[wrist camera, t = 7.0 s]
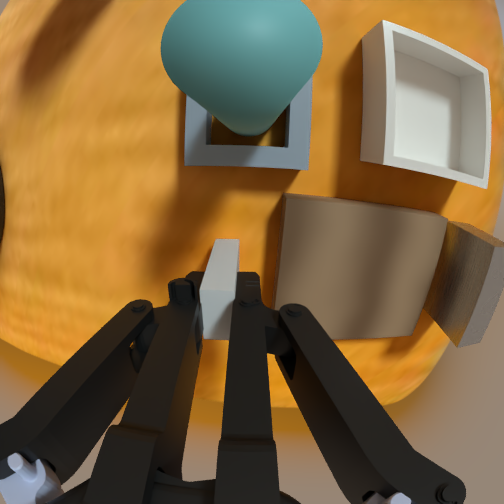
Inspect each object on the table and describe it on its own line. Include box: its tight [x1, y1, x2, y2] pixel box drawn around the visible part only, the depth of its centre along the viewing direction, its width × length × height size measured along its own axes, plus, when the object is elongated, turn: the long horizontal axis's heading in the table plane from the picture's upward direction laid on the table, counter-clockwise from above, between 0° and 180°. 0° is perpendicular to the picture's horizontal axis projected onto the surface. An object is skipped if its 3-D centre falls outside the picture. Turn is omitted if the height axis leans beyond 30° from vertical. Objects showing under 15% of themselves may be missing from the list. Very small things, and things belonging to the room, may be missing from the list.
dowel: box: [161, 0, 323, 137], centre depth 10 cm, size 3×3×12 cm
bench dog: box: [423, 221, 504, 348], centre depth 16 cm, size 3×8×6 cm, turn 178°
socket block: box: [184, 77, 312, 170], centre depth 15 cm, size 7×7×2 cm
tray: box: [360, 20, 491, 189], centre depth 13 cm, size 9×9×4 cm
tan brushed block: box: [271, 193, 448, 340], centre depth 19 cm, size 12×10×2 cm
